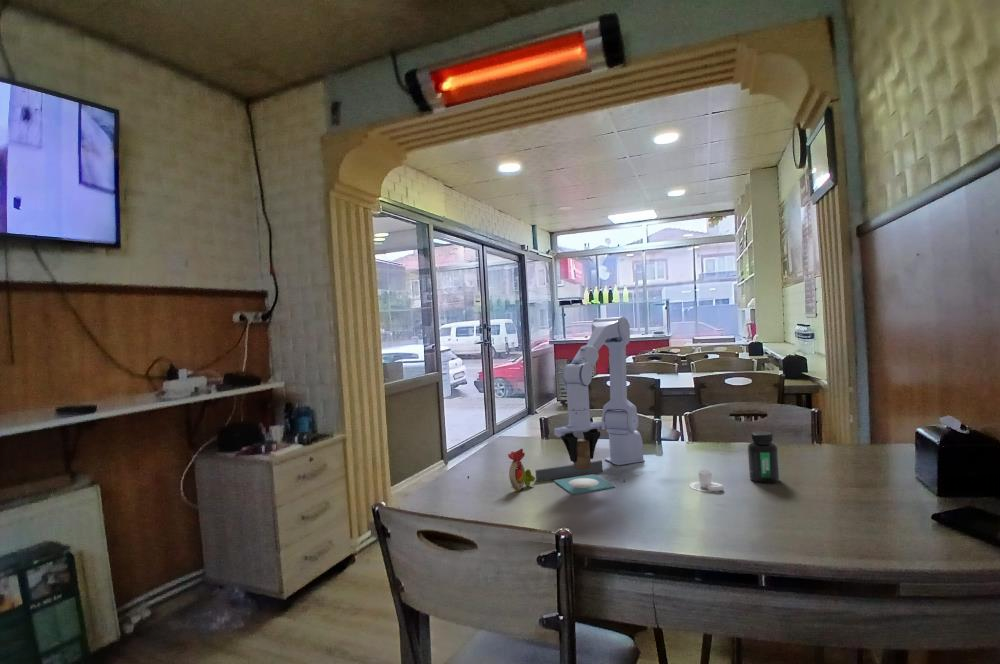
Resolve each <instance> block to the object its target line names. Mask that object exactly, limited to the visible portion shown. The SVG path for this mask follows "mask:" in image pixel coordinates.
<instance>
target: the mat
mask: <svg viewBox="0 0 1000 664" xmlns="http://www.w3.org/2000/svg"><path fill="white" fill-rule="evenodd" d="M553 482H554V483H555V484H556V485H557V486H559V487H561V489H563V490H565V491H566V492H568V493H569V495H580V494H584V493H591V492H595V491H596V492H597V491H602V490H608V489H615V488H616V487H615V485H614V484H612V483H610V482H609V481H607V480H605V479H603V478H602V477H599V476H598V475H596V474H595V473H594V474H593V473H590V474H584V475H578V476H571V477H565V478H558V479H553Z"/></svg>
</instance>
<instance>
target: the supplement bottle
mask: <svg viewBox="0 0 1000 664" xmlns="http://www.w3.org/2000/svg"><path fill="white" fill-rule="evenodd" d="M750 436H751V438H750V439H751V441H752V442H750V443H749V444H748V446H747V452H748V453H747V457H748V473H749V478H750V480H751V481H753V482H755V483H759V484H767V485H770V484H776V483H778V482H779V481H780V463H779V448H778V446H777V444H775V443H774V437H773V433H772V432H770V431H765V430H764V431H763V430H757V431H752V432H751V433H750Z"/></svg>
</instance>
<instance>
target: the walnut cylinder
mask: <svg viewBox="0 0 1000 664" xmlns="http://www.w3.org/2000/svg"><path fill="white" fill-rule="evenodd" d="M576 451H577V462H573V463H572V464H574V468H575V469H588V468H590V467H591V459H590V445H589V440H588V439H584V438H578V440H577V448H576Z"/></svg>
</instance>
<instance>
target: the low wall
mask: <svg viewBox="0 0 1000 664" xmlns="http://www.w3.org/2000/svg"><path fill="white" fill-rule="evenodd" d="M590 461H591V460H590ZM534 472H535V481H536V482H542V481H543V482H544V481H548V480H557V479H564V478H570V477H576V476H583V475H589V474H593V473H594V474H595V473H599V472H603V460H601V459H599V460H593V461H591V467H590V468H588V469H575V468H574V463H572V464H571V463H570V464H565V465H560V466H553V467H545V468H538V469H537V468H536V469H535V471H534Z"/></svg>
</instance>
